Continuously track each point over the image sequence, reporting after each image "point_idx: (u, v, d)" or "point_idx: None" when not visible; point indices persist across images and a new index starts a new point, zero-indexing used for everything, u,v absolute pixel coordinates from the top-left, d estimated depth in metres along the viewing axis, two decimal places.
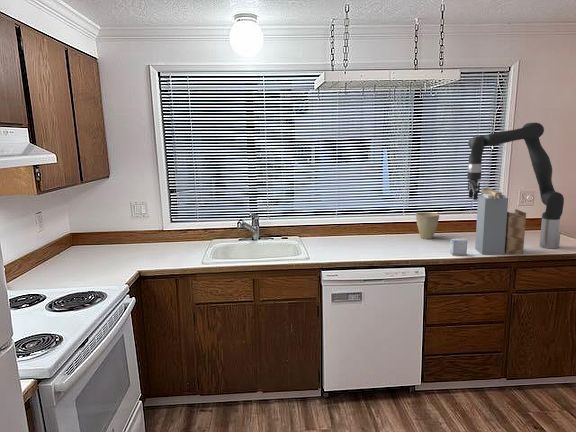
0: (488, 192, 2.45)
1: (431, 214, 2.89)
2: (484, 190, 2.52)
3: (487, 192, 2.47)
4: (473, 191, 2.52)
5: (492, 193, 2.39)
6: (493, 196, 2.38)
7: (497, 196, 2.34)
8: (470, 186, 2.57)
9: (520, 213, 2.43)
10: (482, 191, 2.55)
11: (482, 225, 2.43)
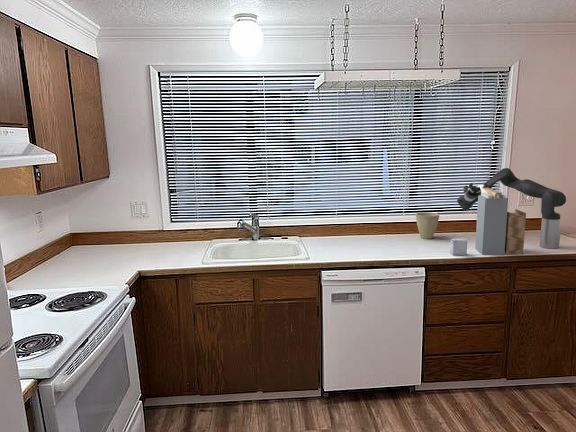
0: (488, 192, 2.45)
1: (431, 214, 2.89)
2: (484, 190, 2.52)
3: (487, 192, 2.47)
4: (470, 189, 2.76)
5: (492, 193, 2.39)
6: (493, 196, 2.38)
7: (497, 196, 2.34)
8: (478, 190, 2.77)
9: (520, 213, 2.43)
10: (482, 191, 2.55)
11: (482, 225, 2.43)
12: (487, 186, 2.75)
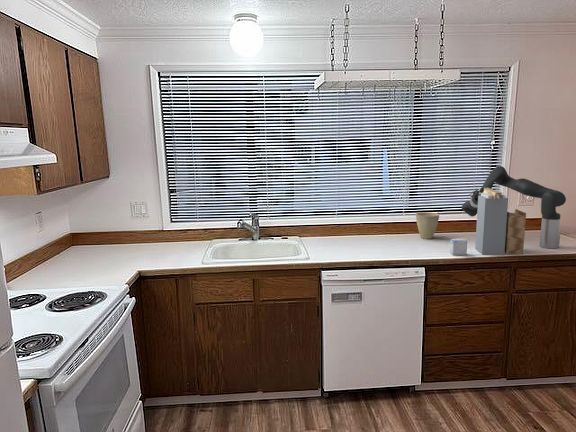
0: (488, 192, 2.45)
1: (431, 214, 2.89)
2: (484, 190, 2.52)
3: (487, 192, 2.47)
4: None
5: (492, 193, 2.39)
6: (493, 196, 2.38)
7: (497, 196, 2.34)
8: None
9: (520, 213, 2.43)
10: None
11: (482, 225, 2.43)
12: None
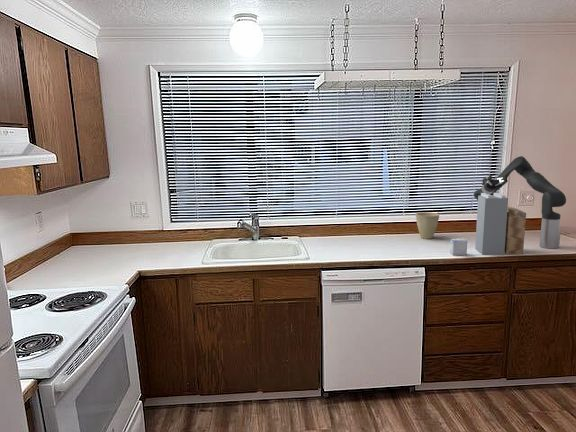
0: (508, 210, 2.47)
1: (431, 214, 2.89)
2: None
3: (507, 210, 2.48)
4: (489, 181, 2.71)
5: (513, 211, 2.41)
6: (514, 214, 2.39)
7: (518, 215, 2.35)
8: (497, 183, 2.72)
9: None
10: None
11: (482, 225, 2.43)
12: (506, 178, 2.70)
